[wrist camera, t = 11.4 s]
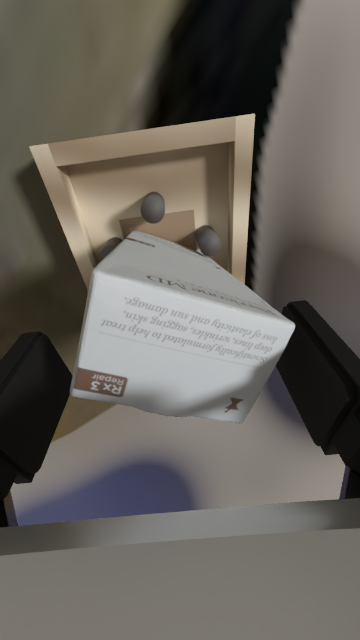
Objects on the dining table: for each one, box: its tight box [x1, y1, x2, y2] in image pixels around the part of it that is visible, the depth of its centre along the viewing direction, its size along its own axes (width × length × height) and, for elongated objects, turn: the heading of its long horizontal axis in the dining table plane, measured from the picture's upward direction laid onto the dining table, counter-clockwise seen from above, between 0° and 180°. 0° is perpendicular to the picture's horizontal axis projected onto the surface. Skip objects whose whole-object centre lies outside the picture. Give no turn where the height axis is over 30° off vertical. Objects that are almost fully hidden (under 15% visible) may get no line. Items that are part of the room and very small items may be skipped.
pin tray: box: [29, 114, 255, 290], centre depth 17 cm, size 16×12×4 cm
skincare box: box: [70, 230, 295, 424], centre depth 12 cm, size 6×4×12 cm
